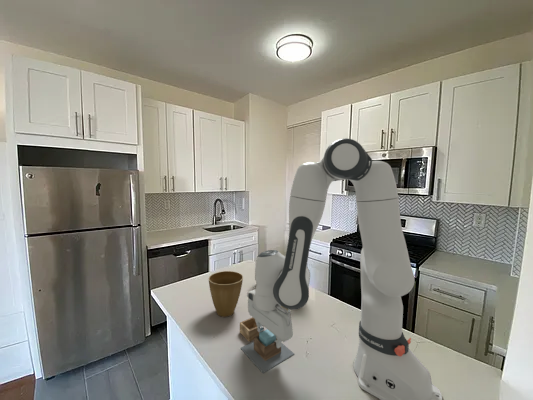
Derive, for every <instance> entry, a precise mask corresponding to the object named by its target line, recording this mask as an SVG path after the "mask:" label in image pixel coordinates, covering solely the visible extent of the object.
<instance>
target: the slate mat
mask: <svg viewBox="0 0 533 400" xmlns="http://www.w3.org/2000/svg"><path fill="white" fill-rule="evenodd" d="M240 350H242V352H243V353H244V354H245V355H246V356H247V358H248V359H249V360H250V361H251V362H252V363H253V365H255V366H256V368H257V369H258V370H259V371H260V372H261V373H262V374H265V373H267V372H268V371H270V370H271V369H273V368H274V367H276V366H278V365H280V364H281V363H283V362H285V361H286V360H288V359H289V358H291V357H293V356H294V355H295V353H294V352H293V351H292V350H291V349H290V348H289V347H288V346H286V345H285V343H283V342H281V352H280V353H279V354H277V355H275V356H273V357H272V358H270V359H268V360H266V361H265V360H264V359H263V358H262V357H261V356H260V355H259V354H258V353H257V352H256V351H255V350H254V341H251V342H249V343H248V344H245V345H244V346H241V347H240Z"/></svg>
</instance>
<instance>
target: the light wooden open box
mask: <svg viewBox="0 0 533 400" xmlns="http://www.w3.org/2000/svg"><path fill="white" fill-rule="evenodd" d="M263 327H264V326H263ZM264 328H265V327H264ZM239 334H240V335H241V336H243V337H244V338H245V339H246V341H248V342H249V343H251V342H253V341H254V337H256V336H258V335H259V332H258V328H257V325H256V322H255V319H254V318H253V317H252V316H251V317H249V318H248V319H245V320H242V321H241V322H239Z"/></svg>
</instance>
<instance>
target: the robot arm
mask: <svg viewBox="0 0 533 400" xmlns="http://www.w3.org/2000/svg"><path fill="white" fill-rule="evenodd" d="M345 180H348V181H350V182H351V183H352V185H353V188H354V191H355V200H356V210H357V211H356V212H357V219H358V228H359V233H360V238H361V244H362V248H361V251H360V289H361V290H360V291H361V292H360V293H361V306H360V309H361V310H360V320H359V323H358V324H359V325H358V338H359V341H358V347H357V351H356V355H355V359H354V361H353V365H352V366H353V370H354V373H355V374H356V376H357V379H358V381H357V382H358V383H357V384H358V387H359V388H360V389H362V390H364V392H367V393H369V394H370V395H372V396H373V397H375V398H377V399H379V400H443V394H442V391H441V390H440V389H439V388H438V387H437V386H436V385H435V384H434V383H433V380H432V375H431V373H430V371H429V369H428V368H427V367H426V366H425V365H424V364H423V362H421V360H420V359H419V358H418V357H417V356H416V355H415V353H414V352H413V351H412V350H411V349H410V348H409V346H410V344H411V343H412V338H411V337H409V338H408V339H407V338H406V337H405V334H404V332H403V318H404V315H403V314H404V305H403V300H402V297H403V296H406V295H407V294H409V293H410V291H411V290H412V289H413V288H414V286H415V274H414V271H413V268H412V265H411V261H410V255H409V251H408V248H407V247H408V246H407V243H406V238H405V235H404V232H403V228H402V221H401V220H402V219H401V212H400V203H399V201H400V200H399V192H398V188H397V182H396V177H395V176H394V171H393V169H392V167H391V165H390V164H389V163H388V162H385V161H382V160H373V159H372V157H371V156H370V155H369V153H368V152H366V149H365V148H364V147H363V146H362V144H360V143H359V142H358V141H356V140H355V139H353V138H348V137H346V138H344V137H343V138H339V139H337V140H335V141H333V142H331V143H330V144H329V145H328V146H327V148H326V149H325V152H324V155H323V158H322V159H321V160H319V161H317V162H314V161H308V162H304V163H302V164H300V165H298V168H297V169H296V172H295V175H294V178H293V181H292V184H291V189H290V195H289V196H290V197H289V200H288V201H289V203H288V204H289V205H288V239H287V240H288V242H287V246H286V252H285V255H284V254H282V253H281V252H280V251H279V250H275V249H268V250H264V251H262V252H261V253H259V254H258V256H256V258H255V266H254V280H255V287H254V289H252V290H250V291H249V290H248V291H247V293H246V296H247V298H248V299H247V312H248V314H249V316H250V317H251V318H252V317H253V318H254V319H255V322H256V325H257V328H258V332H259V333H260V332H263V331H265V329H266V330H267V329H268V330H269V331H270V332H272V333H273V334H274V335H275V336H276V338H277V340H276V341H274V346H275V347H276V348H280V347H281V343H284V342H287V341H289V340H290V339H292V338H293V335H294V333H293V332H294V331H293V330H294V329H293V321H292V317H291V315H289V314H288V312H287V310H286V309H283V308H282V307H284V308H287V309H289V310H290V311H291V310H300V309H302V308H303V307H304V306H306V304H307V303H308V301H309V298H310V289H309V288H310V282H311V281H310V280H311V272H310V269H309V267H308V260H309V254H310V249H311V244H312V240H314V239H313V238H314V235H315V234H316V232H317V229H318V226H319V225H320V223H321V220H322V218H323V215H324V211H325V207H326V201H327V196H328V190H329V187H330V185H331V184H332V182H336V181H345ZM281 306H282V307H281ZM263 326H264V327H263Z"/></svg>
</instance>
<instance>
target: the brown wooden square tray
mask: <svg viewBox="0 0 533 400" xmlns="http://www.w3.org/2000/svg"><path fill="white" fill-rule="evenodd" d="M276 340H277V338H276ZM253 342H254V350H255V351H256V352H257V353H258V354H259V355H260V356H261V357H262V358H263V359H264V360H265V361H266V360H268V359H270V358H272V357H273V356H275V355H277V354H279V353H280V352H281V347H280V348H276V347H275V346H274V343H272V344H270V345H268V346H265V345H264V344H262V343H261V342H260V341H259V335H258V336H256V337H254V340H253Z"/></svg>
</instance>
